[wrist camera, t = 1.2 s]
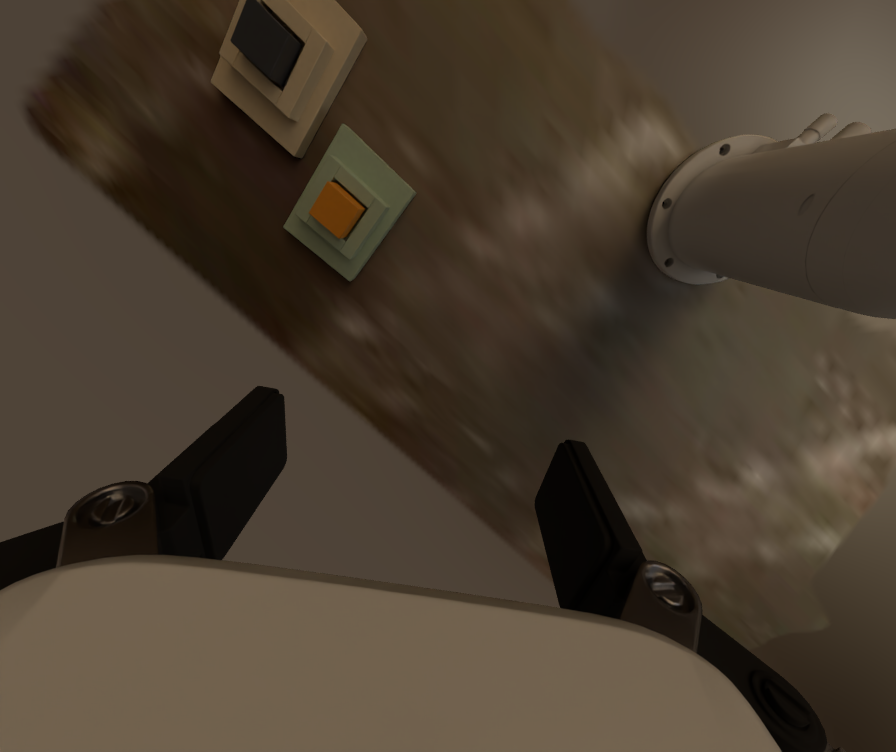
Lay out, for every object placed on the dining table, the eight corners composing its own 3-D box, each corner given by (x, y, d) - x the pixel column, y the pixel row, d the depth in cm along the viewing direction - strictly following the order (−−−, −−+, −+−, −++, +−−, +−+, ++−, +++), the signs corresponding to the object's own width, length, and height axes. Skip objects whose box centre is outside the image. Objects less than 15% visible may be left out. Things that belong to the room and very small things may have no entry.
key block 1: (281, -54, 25) (255, -91, 22) (367, 38, 27) (355, 17, 24) (223, 88, 29) (194, 74, 26) (302, 158, 31) (284, 154, 28)
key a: (265, 8, 24) (248, -8, 23) (303, 46, 25) (289, 33, 23) (246, 52, 26) (229, 40, 24) (283, 87, 26) (269, 78, 25)
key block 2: (348, 126, 30) (334, 117, 27) (416, 193, 32) (411, 191, 29) (290, 226, 34) (273, 228, 31) (354, 278, 36) (344, 285, 33)
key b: (336, 182, 29) (327, 180, 28) (365, 208, 30) (359, 209, 28) (317, 212, 31) (308, 212, 29) (346, 237, 32) (339, 239, 30)
